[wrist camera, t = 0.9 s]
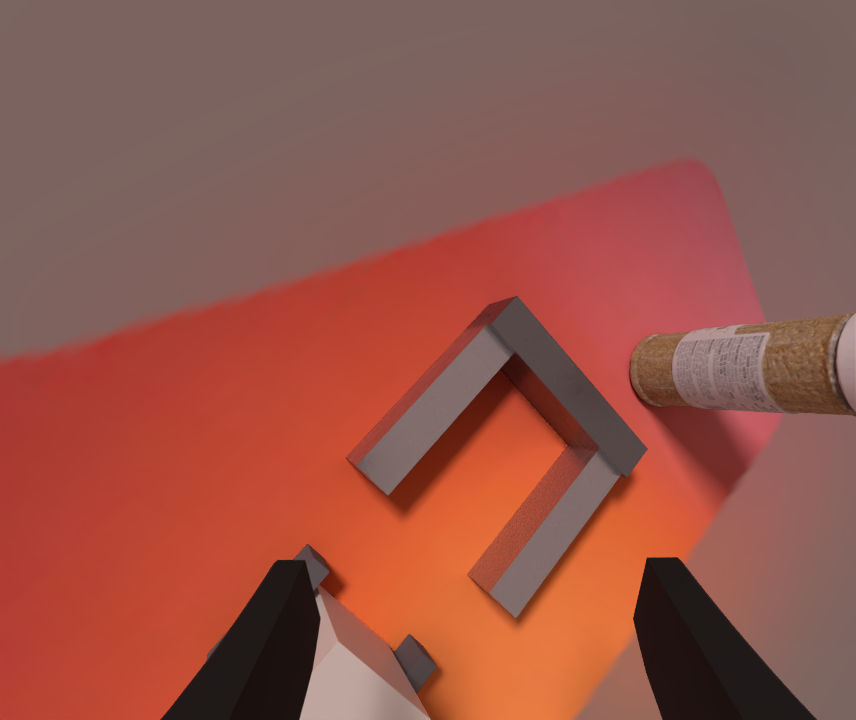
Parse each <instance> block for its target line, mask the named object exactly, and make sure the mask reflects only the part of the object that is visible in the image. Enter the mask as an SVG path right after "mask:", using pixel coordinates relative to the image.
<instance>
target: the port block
mask: <svg viewBox="0 0 856 720" xmlns="http://www.w3.org/2000/svg"><path fill="white" fill-rule="evenodd" d="M499 369H501V370H502V371H503V373H504V374H505V375H506V376H507V377H508V378H509V379H510V380H511V381H512V383H513V384H514V385H515V386H516V387H517V388H518V389H519V390H520V392H521V393H522V394H523V395H524V396H525V397H526V398H527V399H528V400H529V402H530V403H531V404H532V405H533V406H534V407H535V408H536V409H537V410H538V412H539V413H540V414H541V415H542V416H543V417H544V418H545V419H546V420H547V422H548V423H549V424H550V425H551V426H552V427H553V428H554V429H555V430H556V432H557V433H558V434H559V435H560V436H561V437H562V438H563V439H564V440H565V442H566V443H567V444H568V447H567V448H566V449H565V450H564V452H563V453H562V454H561V456H560V457H559V458H558V459H557V461H556V462H555V463H554V465H553V466H552V467H551V468H550V470H549V471H548V472H547V473H546V475H545V476H544V477H543V479H542V480H541V481H540V482H539V484H538V485H537V486H536V487H535V489H534V490H533V491H532V493H531V494H530V495H529V496H528V498H527V499H526V500H525V501H524V503H523V504H522V505H521V507H520V508H519V509H518V510H517V512H516V513H515V514H514V515H513V517H512V518H511V519H510V521H509V522H508V523H507V524H506V526H505V527H504V528H503V529H502V531H501V532H500V533H499V535H498V536H497V537H496V538H495V540H494V541H493V542H492V543H491V545H490V546H489V547H488V549H487V550H486V551H485V552H484V554H483V555H482V556H481V557H480V559H479V560H478V561H477V563H476V564H475V565H474V566H473V568H472V569H471V570H470V571H469V573H468V574H467V575H468V576H469V577H470V578H471V579H473V580H474V581H475V582H476V583H477V584H478V585H479V586H480V587H481V588H482V589H483V590H484V591H485V592H486V593H487V594H488V595H489V596H490V597H491V598H492V599H494V600H495V601H496V602H497V603H498V604H499V605H501V606H502V607H503V608H504V609H505V610H507V611H508V612H509V613H510V614H511V615H512V616H514V617H515V618H517V616H518V615H519V614H520V612H521V611H522V609H523V608H524V607H525V605H526V604H527V603H528V601H529V600H530V599H531V597H532V596H533V594H534V593H535V592H536V590H537V589H538V588H539V586H540V585H541V583H542V582H543V581H544V579H545V578H546V577H547V575H548V574H549V573H550V571H551V570H552V568H553V567H554V566H555V564H556V563H557V562H558V560H559V559H560V558H561V556H562V555H563V553H564V552H565V551H566V549H567V548H568V547H569V545H570V544H571V543H572V541H573V540H574V538H575V537H576V536H577V534H578V533H579V532H580V530H581V529H582V527H583V526H584V525H585V523H586V522H587V521H588V519H589V518H590V517H591V515H592V514H593V512H594V511H595V510H596V508H597V507H598V506H599V504H600V503H601V502H602V500H603V499H604V497H605V496H606V495H607V493H608V492H609V491H610V489H611V488H612V487H613V485H614V484H615V482H616V481H617V480H618V478H619V477H620V476H622V477H626V478H627V477H628V475H629V474H630V473H631V471H632V470H633V469H634V467H635V466H636V464H637V463H638V462H639V460H640V459H641V458H642V456H643V455H644V453H645V452H646V451H647V448H646V446H645V445H644V444H643V443H642V442H641V441H640V439H639V438H638V437H637V436H636V435H635V434H634V432H633V431H632V430H631V429H630V428H629V427H628V425H627V424H626V423H625V422H624V421H623V419H622V418H621V417H620V416H619V415H618V414H617V412H616V411H615V410H614V409H613V408H612V407H611V405H610V404H609V403H608V402H607V401H606V400H605V398H604V397H603V396H602V395H601V394H600V393H599V391H598V390H597V389H596V388H595V387H594V385H593V384H592V383H591V382H590V381H589V380H588V378H587V377H586V376H585V375H584V374H583V373H582V371H581V370H580V369H579V368H578V367H577V366H576V364H575V363H574V362H573V361H572V360H571V358H570V357H569V356H568V355H567V354H566V353H565V351H564V350H563V349H562V348H561V347H560V346H559V344H558V343H557V342H556V341H555V340H554V339H553V337H552V336H551V335H550V334H549V333H548V331H547V330H546V329H545V328H544V327H543V326H542V324H541V323H540V322H539V321H538V320H537V319H536V317H535V316H534V315H533V314H532V313H531V312H530V310H529V309H528V308H527V307H526V306H525V304H524V303H523V302H522V301H521V300H520V299H519V297H518V296H515V297H511V298H508V299H505V300H502V301H499V302H495V303H492V304H489V305H488V306H487V307H486V308H485V309H484V310H483V311H482V312H481V313H480V315H479V316H478V317H477V318H476V319H475V320H474V321H473V322H472V323H471V324H470V325H469V326H468V327H467V328H466V329H465V331H464V332H463V333H462V334H461V335H460V336H459V337H458V338H457V339H456V340H455V341H454V342H453V343H452V344H451V346H450V347H449V348H448V349H447V350H446V351H445V352H444V353H443V354H442V355H441V356H440V357H439V358H438V359H437V360H436V362H435V363H434V364H433V365H432V366H431V367H430V368H429V369H428V370H427V371H426V372H425V373H424V374H423V375H422V376H421V378H420V379H419V380H418V381H417V382H416V383H415V384H414V385H413V386H412V387H411V388H410V389H409V390H408V391H407V393H406V394H405V395H404V396H403V397H402V398H401V399H400V400H399V401H398V402H397V403H396V404H395V405H394V406H393V407H392V409H391V410H390V411H389V412H388V413H387V414H386V415H385V416H384V417H383V418H382V419H381V420H380V421H379V422H378V423H377V425H376V426H375V427H374V428H373V429H372V430H371V431H370V432H369V433H368V434H367V435H366V436H365V437H364V438H363V440H362V441H361V442H360V443H359V444H358V445H357V446H356V447H355V448H354V449H353V450H352V451H351V452H350V453H349V454H348V456H347V457H346V459H347V460H348V461H349V462H350V463H351V464H353V465H354V466H355V467H356V468H357V469H358V470H359V471H360V472H361V473H362V474H363V475H364V476H365V477H366V478H367V479H368V480H369V481H370V482H371V483H372V484H373V485H375V486H376V487H377V488H378V489H380V490H381V491H382V492H384V493H385V494H386V495H389V494H390V493H391V492H392V491H393V489H394V488H395V487H396V486H397V485H398V484H399V483H400V482H401V480H402V479H403V478H404V477H405V476H406V475H407V474H408V472H409V471H410V470H411V469H412V468H413V467H414V466H415V465H416V463H417V462H418V461H419V460H420V459H421V458H422V457H423V455H424V454H425V453H426V452H427V451H428V450H429V449H430V448H431V446H432V445H433V444H434V443H435V442H436V441H437V440H438V438H439V437H440V436H441V435H442V434H443V433H444V432H445V431H446V429H447V428H448V427H449V426H450V425H451V424H452V423H453V421H454V420H455V419H456V418H457V417H458V416H459V415H460V414H461V412H462V411H463V410H464V409H465V408H466V407H467V406H468V404H469V403H470V402H471V401H472V400H473V399H474V398H475V397H476V395H477V394H478V393H479V392H480V391H481V390H482V389H483V387H484V386H485V385H486V384H487V383H488V382H489V381H490V380H491V378H492V377H493V376H494V375H495V374H496V373H497V372H498V370H499Z"/></svg>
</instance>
